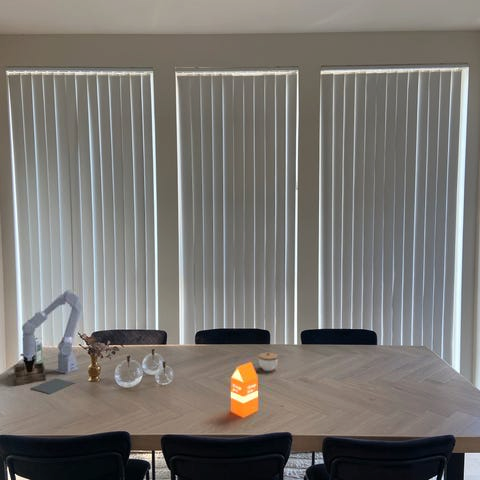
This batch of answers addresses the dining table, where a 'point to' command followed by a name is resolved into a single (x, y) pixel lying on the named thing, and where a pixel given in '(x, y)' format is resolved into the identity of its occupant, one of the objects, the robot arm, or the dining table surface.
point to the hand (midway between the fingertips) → (29, 370)
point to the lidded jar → (268, 361)
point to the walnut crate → (29, 374)
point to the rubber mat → (52, 386)
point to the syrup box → (38, 350)
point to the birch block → (26, 369)
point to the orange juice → (244, 390)
